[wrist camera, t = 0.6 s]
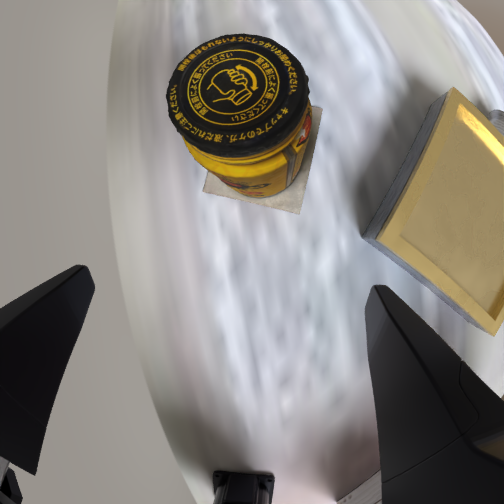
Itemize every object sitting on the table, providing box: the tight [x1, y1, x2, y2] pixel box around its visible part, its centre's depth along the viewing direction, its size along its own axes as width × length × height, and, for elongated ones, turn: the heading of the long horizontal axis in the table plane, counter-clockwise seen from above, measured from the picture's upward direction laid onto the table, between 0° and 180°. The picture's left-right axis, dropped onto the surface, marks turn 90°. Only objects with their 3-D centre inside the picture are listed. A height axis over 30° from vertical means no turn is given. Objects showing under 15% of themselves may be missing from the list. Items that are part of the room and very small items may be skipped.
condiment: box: [166, 34, 323, 214], centre depth 14 cm, size 7×8×12 cm
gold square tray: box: [362, 87, 504, 337], centre depth 17 cm, size 18×14×4 cm
